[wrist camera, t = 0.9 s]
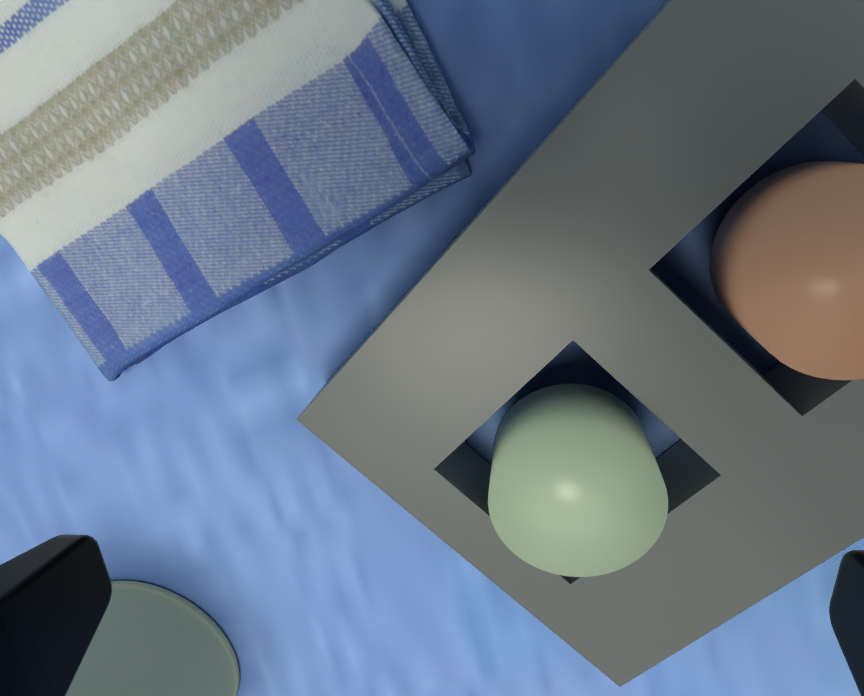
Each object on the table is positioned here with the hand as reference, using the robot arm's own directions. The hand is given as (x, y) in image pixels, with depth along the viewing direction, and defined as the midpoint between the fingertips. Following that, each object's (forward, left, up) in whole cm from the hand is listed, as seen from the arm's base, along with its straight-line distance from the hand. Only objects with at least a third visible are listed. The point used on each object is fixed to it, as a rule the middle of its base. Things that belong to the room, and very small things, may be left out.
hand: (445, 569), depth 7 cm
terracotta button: (-5, -7, -12) cm, 15 cm away
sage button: (-5, +2, -12) cm, 13 cm away
